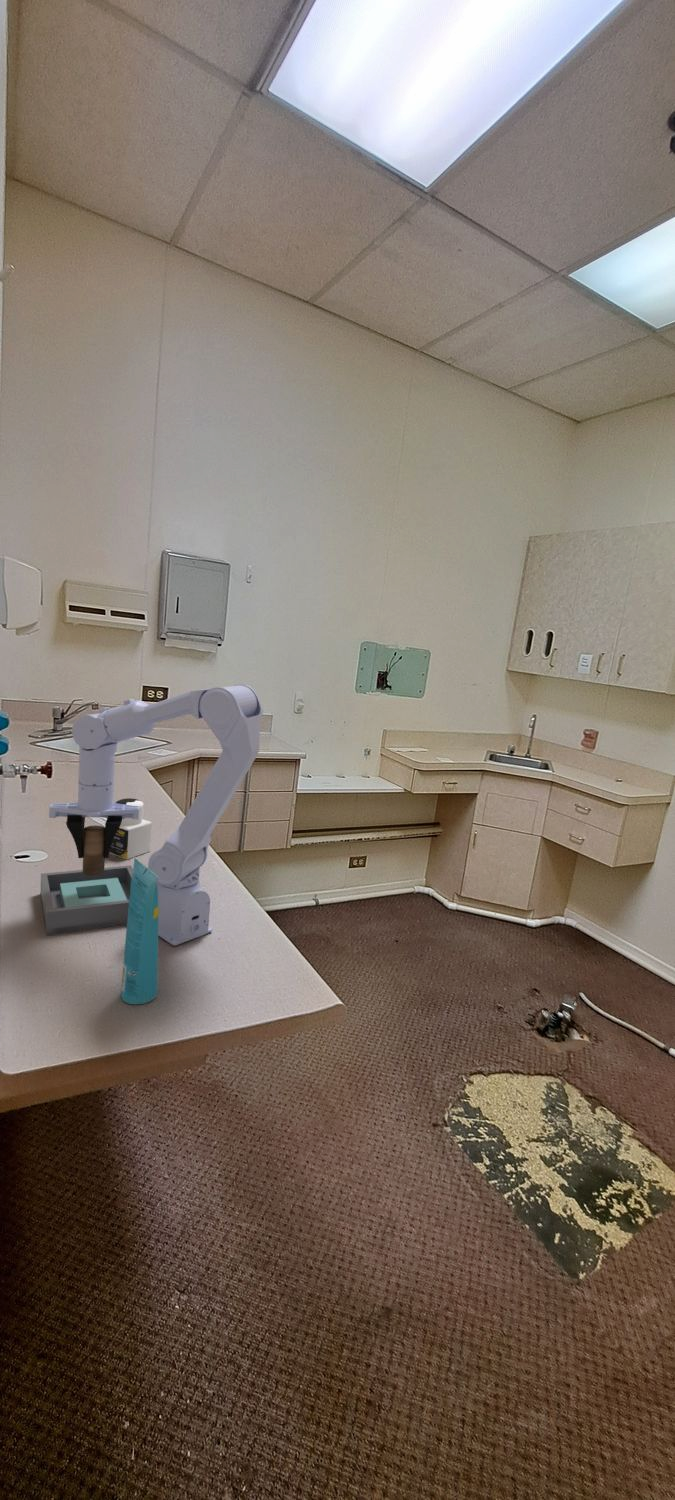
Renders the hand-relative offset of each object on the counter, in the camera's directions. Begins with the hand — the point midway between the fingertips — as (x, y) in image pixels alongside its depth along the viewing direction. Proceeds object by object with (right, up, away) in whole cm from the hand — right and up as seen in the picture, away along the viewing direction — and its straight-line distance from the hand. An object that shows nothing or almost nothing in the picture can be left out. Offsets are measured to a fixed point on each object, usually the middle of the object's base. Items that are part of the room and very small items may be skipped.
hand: (94, 856), depth 106 cm
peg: (0, -3, 0) cm, 3 cm away
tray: (-1, -10, +2) cm, 10 cm away
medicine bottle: (-4, -4, +29) cm, 29 cm away
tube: (+15, -16, -21) cm, 31 cm away
